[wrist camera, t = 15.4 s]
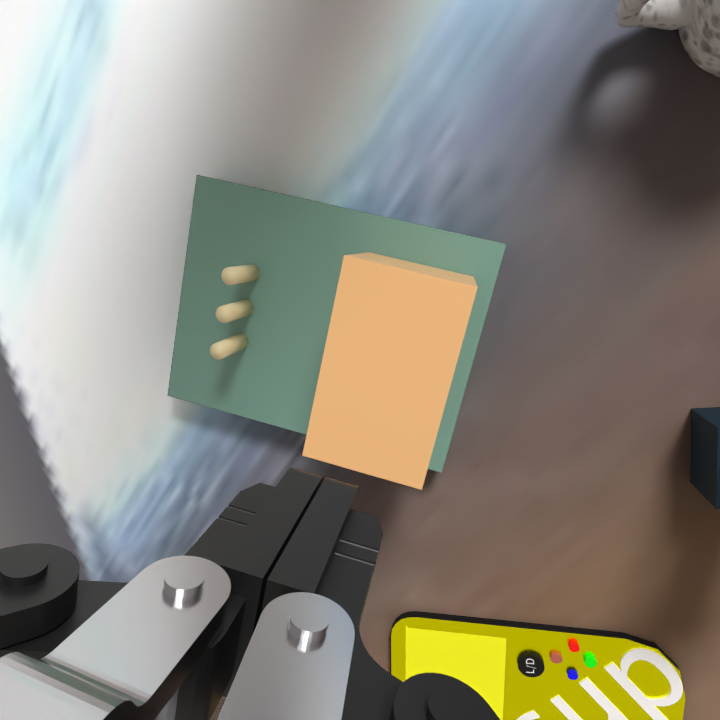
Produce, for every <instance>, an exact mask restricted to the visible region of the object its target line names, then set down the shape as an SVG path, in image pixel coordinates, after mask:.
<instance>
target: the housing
mask: <svg viewBox="0 0 720 720" xmlns="http://www.w3.org/2000/svg"><path fill="white" fill-rule="evenodd" d="M477 288H478V286H477V284H476V281H475V279H474V277H473V276H469V275H465V274H460V273H456V272H452V271H448V270H443V269H439V268H435V267H430V266H426V265H422V264H418V263H413V262H409V261H405V260H401V259H396V258H392V257H388V256H384V255H379V254H375V253H371V252H367V253H359V254H351V255H344V257H343V262H342V267H341V272H340V277H339V282H338V286H337V291H336V296H335V301H334V306H333V310H332V315H331V320H330V325H329V330H328V334H327V339H326V344H325V349H324V354H323V358H322V363H321V368H320V373H319V378H318V382H317V387H316V392H315V397H314V402H313V406H312V411H311V416H310V421H309V426H308V431H307V435H306V440H305V445H304V450H303V455H302V456H306V457H309V458H313V459H316V460H320V461H323V462H327V463H330V464H334V465H337V466H341V467H344V468H348V469H351V470H355V471H358V472H361V473H365V474H368V475H372V476H375V477H379V478H382V479H386V480H389V481H393V482H396V483H400V484H403V485H407V486H410V487H414V488H417V489H421V490H422V487H423V484H424V480H425V477H426V473H427V469H428V466H429V462H430V458H431V455H432V451H433V448H434V444H435V440H436V437H437V433H438V429H439V426H440V422H441V419H442V415H443V411H444V408H445V404H446V400H447V397H448V393H449V390H450V386H451V382H452V379H453V375H454V371H455V368H456V364H457V360H458V357H459V353H460V350H461V346H462V342H463V339H464V335H465V331H466V328H467V324H468V321H469V317H470V313H471V310H472V306H473V302H474V299H475V295H476V292H477Z"/></svg>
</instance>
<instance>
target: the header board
mask: <svg viewBox="0 0 720 720" xmlns="http://www.w3.org/2000/svg"><path fill="white" fill-rule="evenodd" d="M505 247H506V244H503V243H498V242H494V241H489V240H485V239H481V238H476V237H472V236H467V235H463V234H458V233H454V232H449V231H445V230H441V229H436V228H432V227H427V226H423V225H418V224H414V223H409V222H405V221H400V220H396V219H392V218H387V217H383V216H378V215H374V214H369V213H365V212H360V211H356V210H351V209H347V208H343V207H338V206H334V205H329V204H325V203H320V202H316V201H311V200H307V199H303V198H298V197H294V196H289V195H285V194H280V193H276V192H271V191H267V190H262V189H258V188H254V187H249V186H245V185H240V184H236V183H231V182H227V181H222V180H218V179H213V178H209V177H205V176H200V175H197V178H196V185H195V193H194V200H193V208H192V215H191V223H190V230H189V238H188V245H187V253H186V261H185V268H184V276H183V283H182V291H181V298H180V306H179V313H178V321H177V328H176V336H175V343H174V351H173V358H172V366H171V374H170V381H169V389H168V396H171V397H175V398H178V399H182V400H185V401H189V402H193V403H196V404H200V405H203V406H207V407H210V408H214V409H217V410H221V411H224V412H228V413H232V414H235V415H239V416H242V417H246V418H249V419H253V420H256V421H260V422H263V423H267V424H271V425H274V426H278V427H281V428H285V429H288V430H292V431H295V432H299V433H303V434H306V435H307V431H308V426H309V421H310V416H311V411H312V406H313V402H314V397H315V392H316V387H317V382H318V378H319V373H320V368H321V363H322V358H323V354H324V349H325V344H326V339H327V334H328V330H329V325H330V320H331V315H332V310H333V306H334V301H335V296H336V291H337V286H338V282H339V277H340V272H341V267H342V262H343V257H344V255H351V254H359V253H367V252H371V253H375V254H379V255H384V256H388V257H392V258H396V259H401V260H405V261H409V262H413V263H418V264H422V265H426V266H430V267H435V268H439V269H443V270H448V271H452V272H456V273H460V274H465V275H469V276H473V277H474V279H475V281H476V284H477V286H478V288H477V292H476V295H475V299H474V302H473V306H472V310H471V313H470V317H469V321H468V324H467V328H466V331H465V335H464V339H463V342H462V346H461V350H460V353H459V357H458V360H457V364H456V368H455V371H454V375H453V379H452V382H451V386H450V390H449V393H448V397H447V400H446V404H445V408H444V411H443V415H442V419H441V422H440V426H439V429H438V433H437V437H436V440H435V444H434V448H433V451H432V455H431V458H430V462H429V466H428V469H430V470H434V471H437V472H441V473H442V470H443V466H444V462H445V459H446V455H447V452H448V448H449V445H450V441H451V438H452V434H453V431H454V427H455V424H456V420H457V417H458V413H459V409H460V406H461V402H462V399H463V395H464V392H465V388H466V385H467V381H468V378H469V374H470V371H471V367H472V364H473V360H474V356H475V353H476V349H477V346H478V342H479V339H480V335H481V332H482V328H483V325H484V321H485V318H486V314H487V311H488V307H489V303H490V300H491V296H492V293H493V289H494V286H495V282H496V279H497V275H498V272H499V268H500V265H501V261H502V258H503V254H504V250H505Z"/></svg>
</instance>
